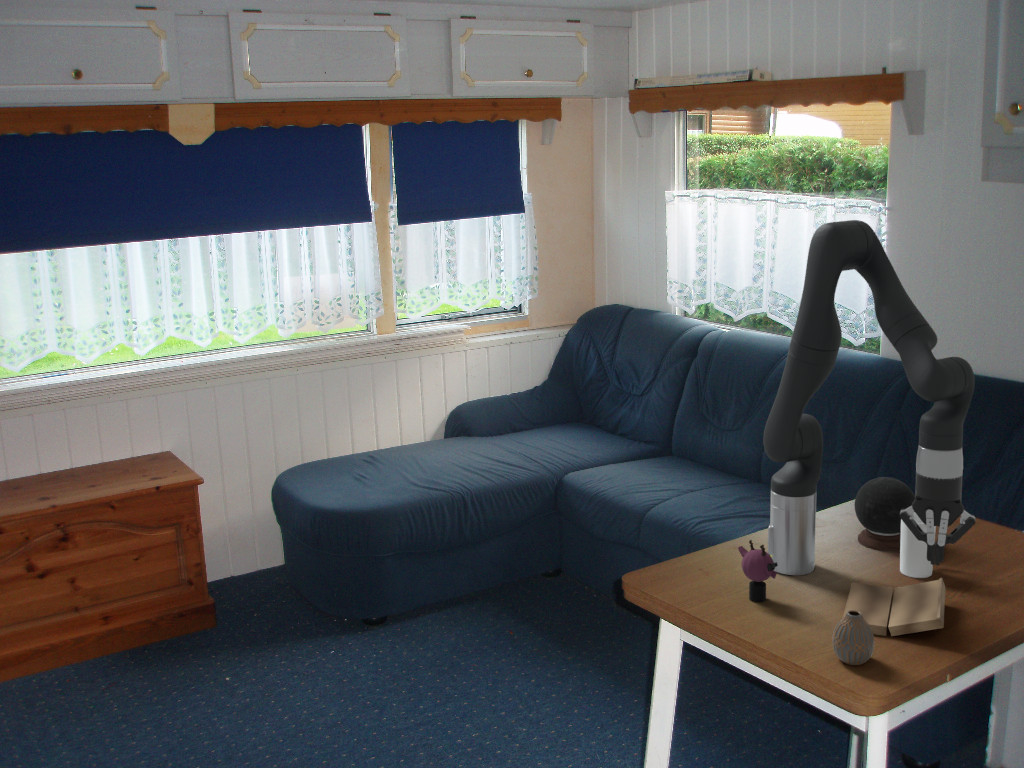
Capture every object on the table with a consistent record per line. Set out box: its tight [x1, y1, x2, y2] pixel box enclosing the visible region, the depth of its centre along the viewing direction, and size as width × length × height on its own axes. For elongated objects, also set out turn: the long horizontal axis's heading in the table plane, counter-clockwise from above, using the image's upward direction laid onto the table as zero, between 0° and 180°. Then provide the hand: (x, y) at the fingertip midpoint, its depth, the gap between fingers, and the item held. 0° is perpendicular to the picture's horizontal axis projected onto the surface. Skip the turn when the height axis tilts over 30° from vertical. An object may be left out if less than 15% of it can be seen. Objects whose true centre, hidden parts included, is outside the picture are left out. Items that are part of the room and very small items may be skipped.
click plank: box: [887, 577, 946, 637], centre depth 186 cm, size 9×18×2 cm, turn 155°
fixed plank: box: [842, 582, 894, 637], centre depth 189 cm, size 8×18×2 cm, turn 156°
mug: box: [899, 512, 937, 579], centre depth 206 cm, size 10×7×12 cm, turn 132°
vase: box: [831, 610, 876, 666], centre depth 171 cm, size 7×7×9 cm
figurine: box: [737, 539, 778, 603], centre depth 196 cm, size 8×8×12 cm
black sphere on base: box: [854, 476, 915, 552], centre depth 222 cm, size 13×13×15 cm
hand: (935, 563), depth 178 cm, fingers closed
